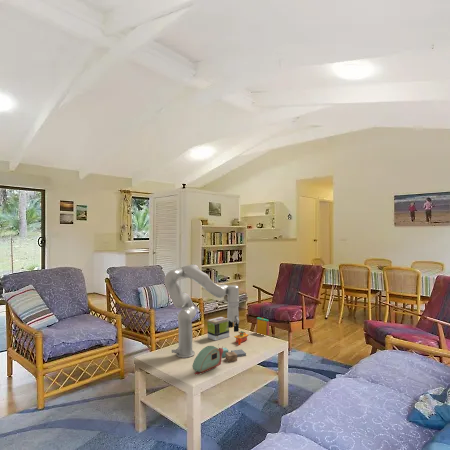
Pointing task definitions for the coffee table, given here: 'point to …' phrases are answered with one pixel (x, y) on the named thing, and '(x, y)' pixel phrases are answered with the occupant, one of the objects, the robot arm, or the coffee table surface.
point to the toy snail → (207, 359)
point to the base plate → (239, 352)
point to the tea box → (218, 328)
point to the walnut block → (231, 356)
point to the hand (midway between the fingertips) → (233, 329)
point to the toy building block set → (261, 328)
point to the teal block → (224, 352)
